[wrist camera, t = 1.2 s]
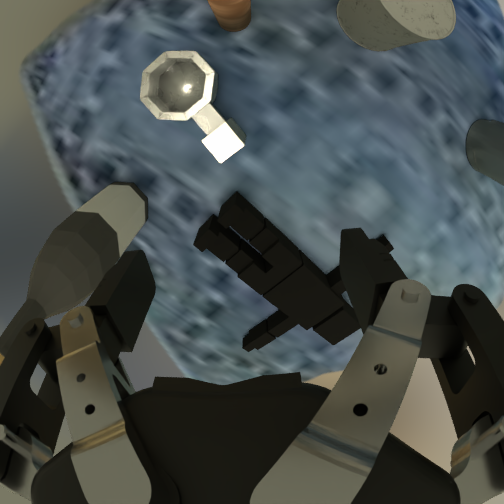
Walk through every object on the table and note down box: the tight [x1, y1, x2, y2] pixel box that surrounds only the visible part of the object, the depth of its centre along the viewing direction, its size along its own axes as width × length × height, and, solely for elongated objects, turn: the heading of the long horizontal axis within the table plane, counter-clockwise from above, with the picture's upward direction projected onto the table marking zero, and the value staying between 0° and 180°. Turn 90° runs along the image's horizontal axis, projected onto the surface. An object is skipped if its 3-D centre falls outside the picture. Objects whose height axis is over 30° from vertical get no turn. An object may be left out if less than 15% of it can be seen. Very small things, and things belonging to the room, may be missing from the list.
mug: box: [140, 51, 246, 163], centre depth 27 cm, size 8×13×8 cm, turn 37°
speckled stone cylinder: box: [337, 0, 456, 51], centre depth 18 cm, size 10×10×12 cm
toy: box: [193, 192, 394, 352], centre depth 42 cm, size 30×5×30 cm
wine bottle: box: [0, 182, 148, 365], centre depth 25 cm, size 8×8×30 cm
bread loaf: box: [207, 0, 251, 32], centre depth 20 cm, size 4×4×12 cm
